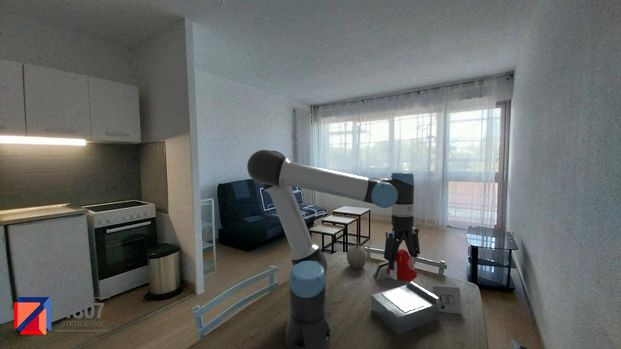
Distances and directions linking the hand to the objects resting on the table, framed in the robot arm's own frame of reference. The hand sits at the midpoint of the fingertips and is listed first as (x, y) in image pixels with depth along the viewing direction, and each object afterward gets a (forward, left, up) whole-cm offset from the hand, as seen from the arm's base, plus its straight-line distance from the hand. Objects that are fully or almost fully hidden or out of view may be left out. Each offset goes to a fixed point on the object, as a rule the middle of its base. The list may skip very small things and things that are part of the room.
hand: (402, 275), depth 85 cm
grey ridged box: (+1, 0, -15) cm, 15 cm away
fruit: (+7, +39, -15) cm, 43 cm away
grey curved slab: (+16, +23, -16) cm, 33 cm away
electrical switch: (+18, -4, -16) cm, 24 cm away
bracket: (0, 0, -1) cm, 1 cm away
